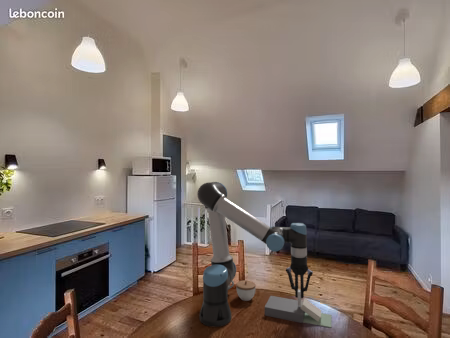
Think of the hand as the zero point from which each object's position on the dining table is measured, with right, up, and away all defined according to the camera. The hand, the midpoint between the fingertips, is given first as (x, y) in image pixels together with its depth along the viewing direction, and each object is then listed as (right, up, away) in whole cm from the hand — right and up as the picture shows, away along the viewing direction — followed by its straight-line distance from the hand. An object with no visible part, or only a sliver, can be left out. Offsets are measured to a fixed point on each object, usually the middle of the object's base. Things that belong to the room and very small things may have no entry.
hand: (299, 304), depth 127 cm
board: (-6, -5, +2) cm, 9 cm away
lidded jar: (-25, -6, +18) cm, 31 cm away
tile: (+4, -2, -2) cm, 5 cm away
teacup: (-37, -6, +26) cm, 46 cm away
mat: (+8, -5, -3) cm, 10 cm away
